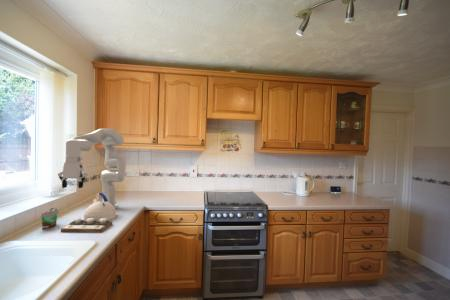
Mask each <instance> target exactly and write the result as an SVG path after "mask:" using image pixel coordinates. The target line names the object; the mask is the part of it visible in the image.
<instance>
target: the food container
mask: <svg viewBox="0 0 450 300" xmlns="http://www.w3.org/2000/svg"><path fill="white" fill-rule="evenodd" d="M58 214H59V210H58V208H56V207H50V210H47V211H46V212H44V213H43V212H42V213H41V216H40V217H41V229H42V230H47V229H51V228H54V227H56V226H57V220H58Z"/></svg>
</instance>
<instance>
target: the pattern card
mask: <svg viewBox="0 0 450 300" xmlns="http://www.w3.org/2000/svg"><path fill="white" fill-rule="evenodd" d="M65 226H66V227H65ZM65 226H63V227H64V228H63V227H61V228H62V229H101V228H102V227H104V226H103V225H69V224H67V225H65Z"/></svg>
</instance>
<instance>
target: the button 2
mask: <svg viewBox="0 0 450 300" xmlns="http://www.w3.org/2000/svg"><path fill="white" fill-rule="evenodd" d="M106 221H107V218H101V219H99V222H100V223H103V222H106Z"/></svg>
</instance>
